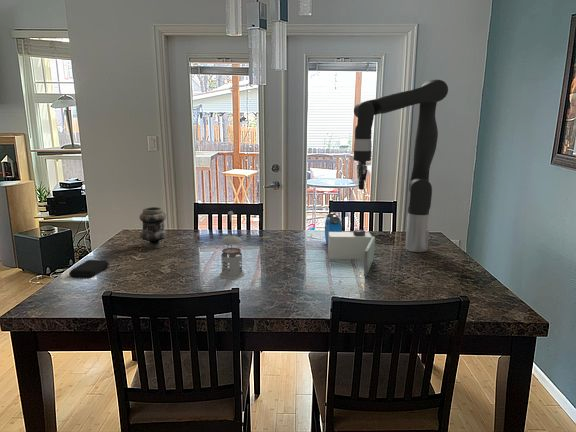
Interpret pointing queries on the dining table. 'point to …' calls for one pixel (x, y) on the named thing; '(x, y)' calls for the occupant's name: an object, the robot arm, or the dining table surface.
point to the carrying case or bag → (89, 268)
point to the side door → (369, 255)
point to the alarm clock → (332, 225)
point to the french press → (231, 258)
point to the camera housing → (348, 244)
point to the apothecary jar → (153, 227)
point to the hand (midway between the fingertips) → (361, 189)
